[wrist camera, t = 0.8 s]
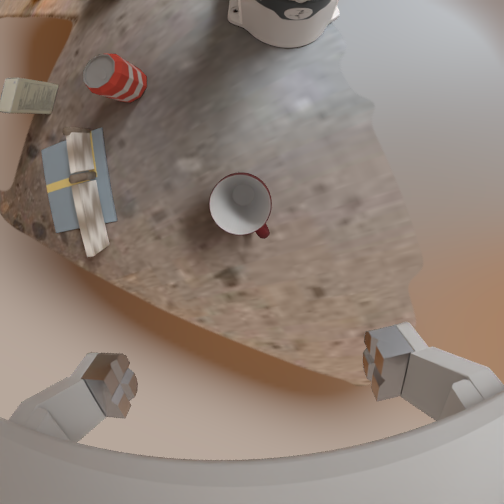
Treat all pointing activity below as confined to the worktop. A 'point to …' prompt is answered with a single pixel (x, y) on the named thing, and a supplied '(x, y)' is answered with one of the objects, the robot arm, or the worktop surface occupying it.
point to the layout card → (61, 187)
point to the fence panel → (90, 217)
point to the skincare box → (27, 96)
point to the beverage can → (114, 78)
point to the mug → (241, 205)
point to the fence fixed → (79, 153)
